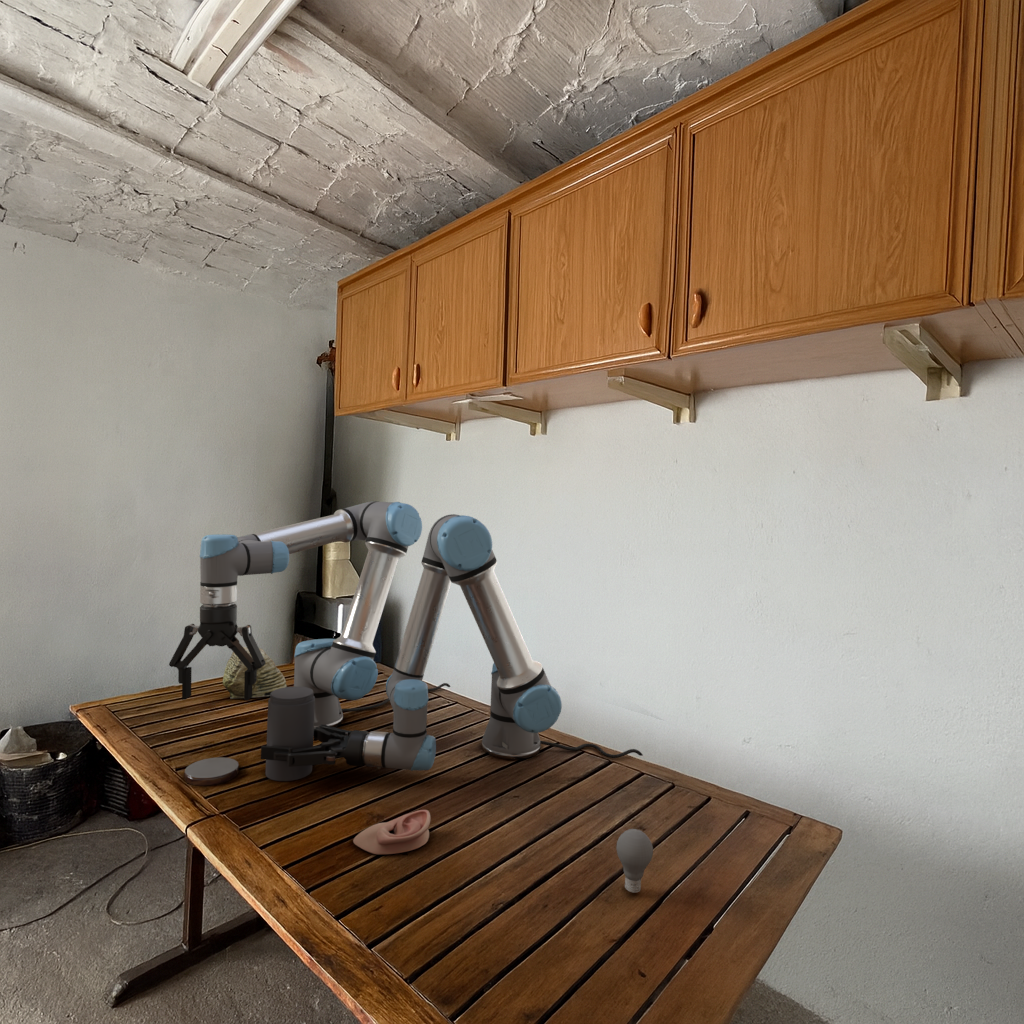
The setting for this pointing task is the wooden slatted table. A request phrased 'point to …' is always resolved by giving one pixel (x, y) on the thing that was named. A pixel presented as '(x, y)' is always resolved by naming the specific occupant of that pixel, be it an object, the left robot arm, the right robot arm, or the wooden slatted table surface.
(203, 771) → the lid
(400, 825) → the anatomical model
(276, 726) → the jar
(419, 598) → the right robot arm
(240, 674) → the fossil
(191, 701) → the wooden slatted table surface
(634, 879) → the light bulb
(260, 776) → the wooden slatted table surface
